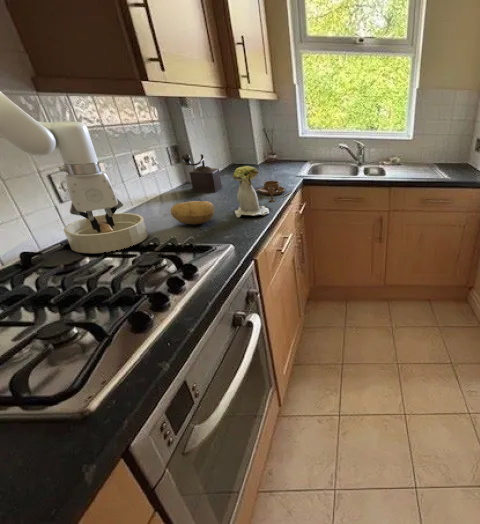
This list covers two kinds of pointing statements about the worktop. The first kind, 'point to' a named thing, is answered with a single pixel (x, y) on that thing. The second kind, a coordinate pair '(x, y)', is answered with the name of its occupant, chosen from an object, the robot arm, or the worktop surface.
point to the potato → (193, 212)
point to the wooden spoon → (104, 226)
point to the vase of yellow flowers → (248, 192)
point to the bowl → (106, 234)
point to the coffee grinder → (203, 176)
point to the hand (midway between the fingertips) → (104, 229)
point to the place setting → (272, 189)
